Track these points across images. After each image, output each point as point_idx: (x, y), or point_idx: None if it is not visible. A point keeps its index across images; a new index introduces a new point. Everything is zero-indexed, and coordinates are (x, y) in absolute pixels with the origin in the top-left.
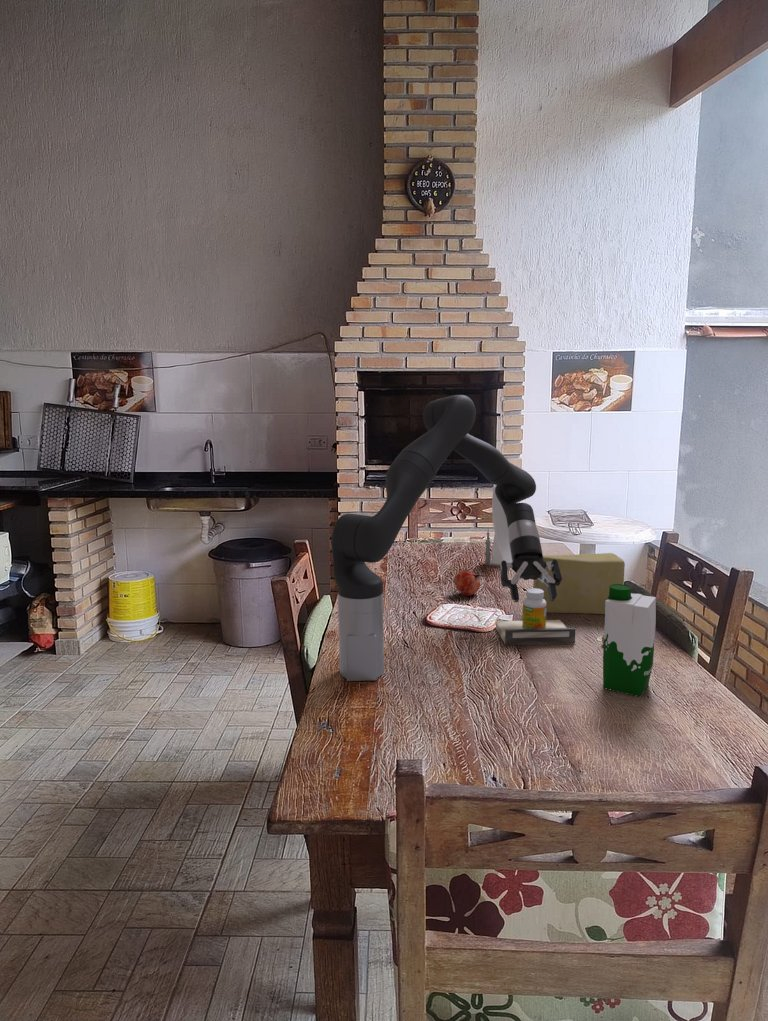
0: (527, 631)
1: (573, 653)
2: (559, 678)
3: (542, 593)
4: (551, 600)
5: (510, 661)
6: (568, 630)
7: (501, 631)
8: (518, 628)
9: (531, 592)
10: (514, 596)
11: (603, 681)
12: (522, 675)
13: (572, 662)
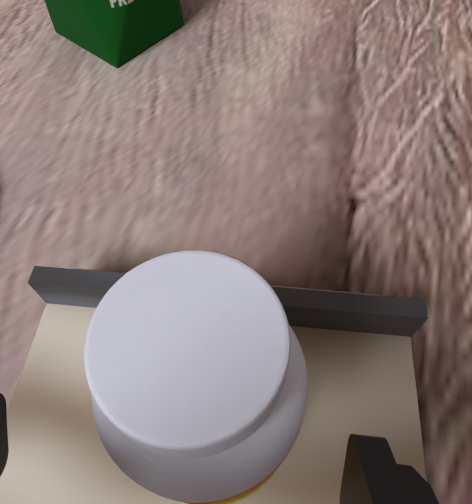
0: (299, 291)
1: (133, 212)
2: (271, 73)
3: (136, 271)
4: (4, 432)
5: (399, 182)
6: (74, 272)
7: (421, 441)
8: (301, 480)
9: (254, 281)
10: (401, 473)
11: (180, 8)
12: (376, 97)
13: (179, 150)
